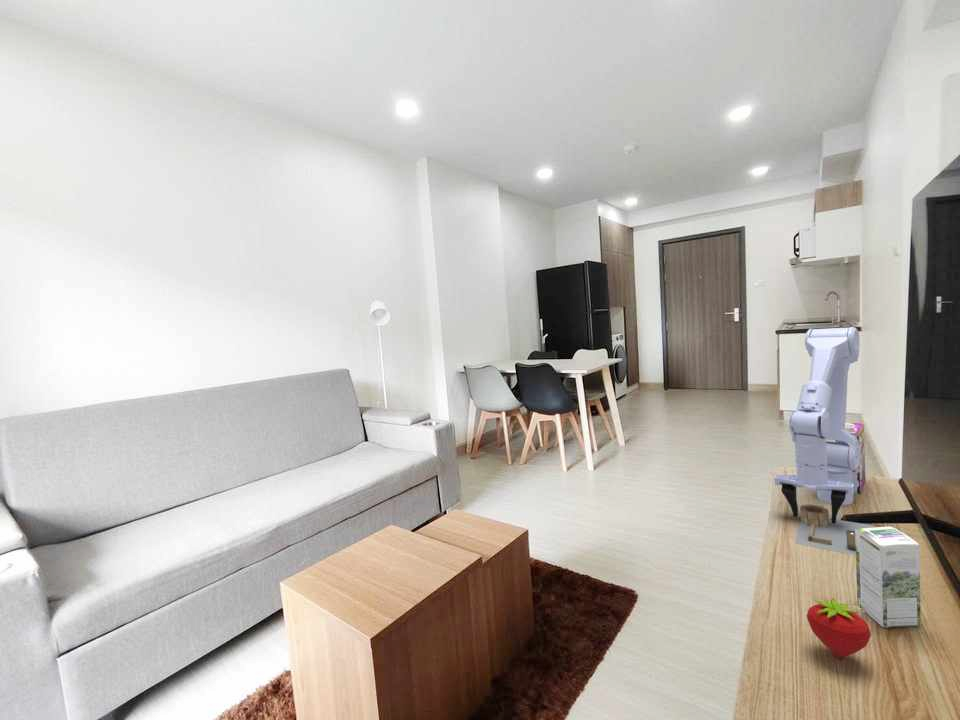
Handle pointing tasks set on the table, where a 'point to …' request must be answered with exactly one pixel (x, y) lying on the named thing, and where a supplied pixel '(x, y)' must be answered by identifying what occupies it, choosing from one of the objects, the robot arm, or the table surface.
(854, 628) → the strawberry
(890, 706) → the table surface
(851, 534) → the end peg
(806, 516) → the ring
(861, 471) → the candy bar box
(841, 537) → the board
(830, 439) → the robot arm
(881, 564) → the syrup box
